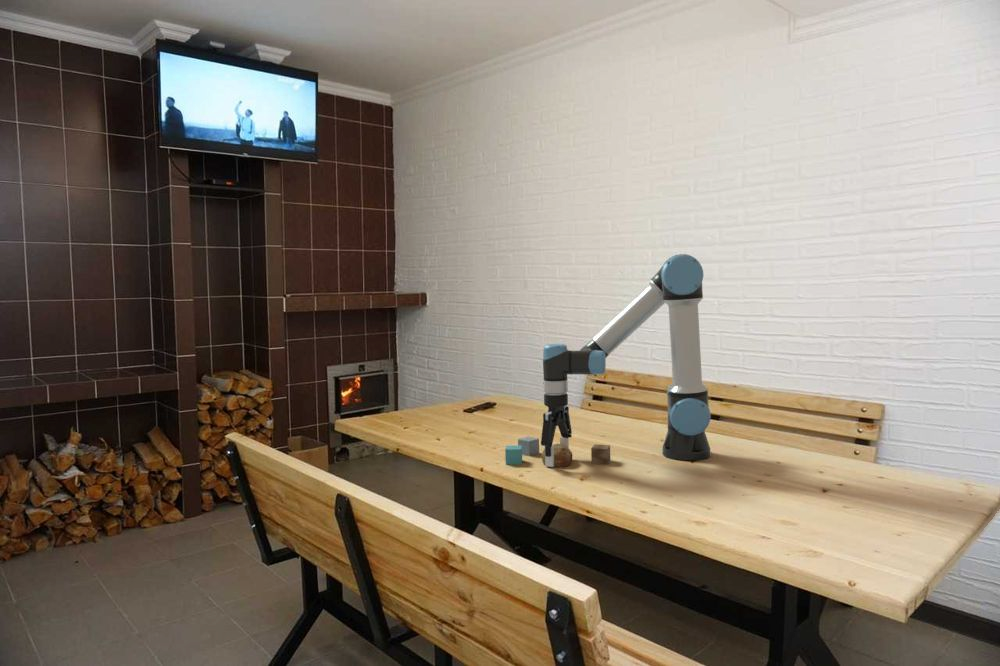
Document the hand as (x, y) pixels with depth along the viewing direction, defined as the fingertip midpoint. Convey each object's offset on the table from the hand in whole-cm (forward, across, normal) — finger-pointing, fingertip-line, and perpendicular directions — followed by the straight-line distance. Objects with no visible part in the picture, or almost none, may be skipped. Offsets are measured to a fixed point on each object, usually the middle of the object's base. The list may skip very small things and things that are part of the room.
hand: (557, 461), depth 224 cm
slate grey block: (+1, -7, -14) cm, 16 cm away
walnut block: (+1, -7, +12) cm, 14 cm away
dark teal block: (+1, +5, -13) cm, 14 cm away
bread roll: (+1, 0, 0) cm, 1 cm away
